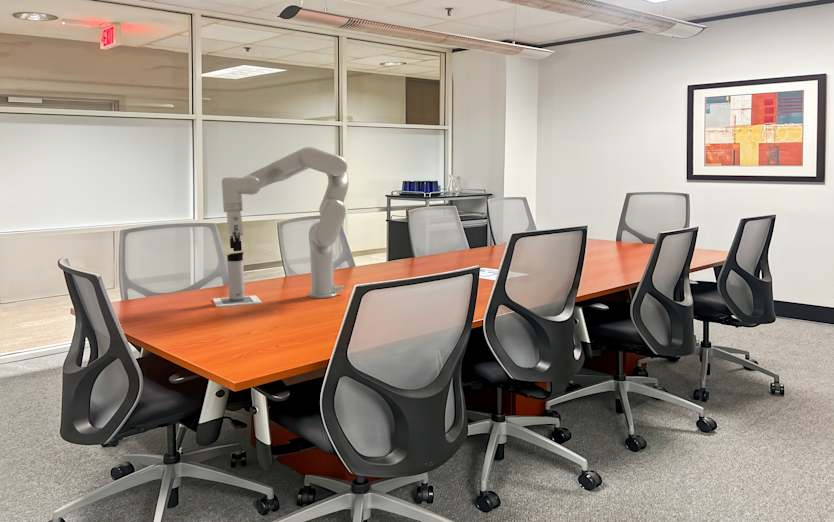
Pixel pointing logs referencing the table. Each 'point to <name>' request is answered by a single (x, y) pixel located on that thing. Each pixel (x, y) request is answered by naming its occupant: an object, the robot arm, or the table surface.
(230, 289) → the travel mug
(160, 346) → the table surface
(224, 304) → the card
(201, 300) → the table surface
